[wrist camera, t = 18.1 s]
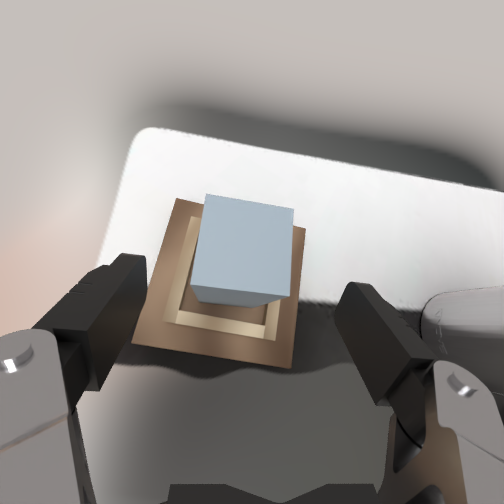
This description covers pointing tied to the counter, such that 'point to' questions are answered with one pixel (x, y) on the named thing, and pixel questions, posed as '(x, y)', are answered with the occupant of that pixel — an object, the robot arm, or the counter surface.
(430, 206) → the counter surface
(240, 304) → the post block
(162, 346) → the base board
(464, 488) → the robot arm
